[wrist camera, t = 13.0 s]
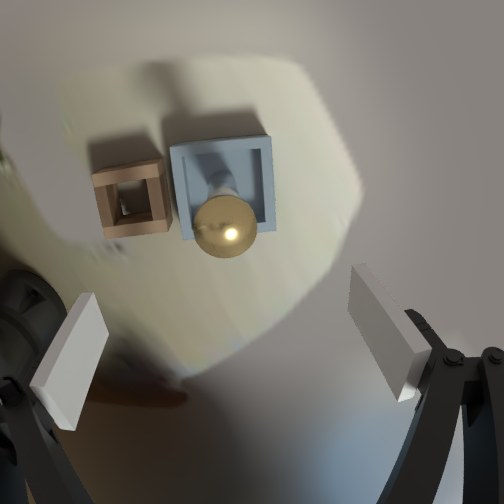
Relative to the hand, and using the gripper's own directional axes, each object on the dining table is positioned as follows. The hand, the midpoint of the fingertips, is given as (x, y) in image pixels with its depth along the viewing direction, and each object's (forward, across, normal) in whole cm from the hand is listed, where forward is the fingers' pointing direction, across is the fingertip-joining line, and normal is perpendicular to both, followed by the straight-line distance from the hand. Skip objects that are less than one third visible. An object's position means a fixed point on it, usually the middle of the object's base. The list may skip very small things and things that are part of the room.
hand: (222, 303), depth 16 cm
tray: (+26, 0, 0) cm, 26 cm away
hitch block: (+26, +11, 0) cm, 28 cm away
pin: (+24, 0, 0) cm, 24 cm away
